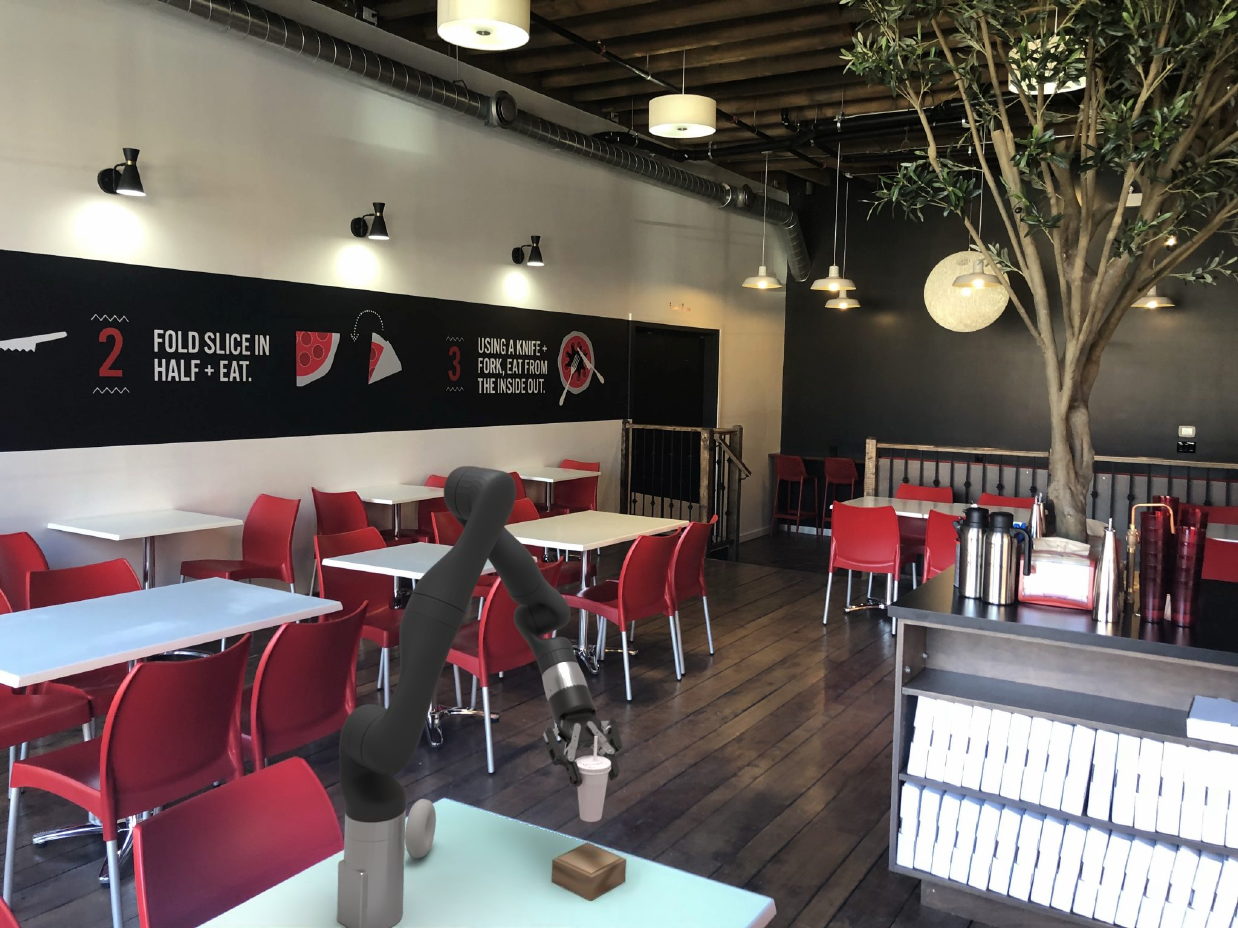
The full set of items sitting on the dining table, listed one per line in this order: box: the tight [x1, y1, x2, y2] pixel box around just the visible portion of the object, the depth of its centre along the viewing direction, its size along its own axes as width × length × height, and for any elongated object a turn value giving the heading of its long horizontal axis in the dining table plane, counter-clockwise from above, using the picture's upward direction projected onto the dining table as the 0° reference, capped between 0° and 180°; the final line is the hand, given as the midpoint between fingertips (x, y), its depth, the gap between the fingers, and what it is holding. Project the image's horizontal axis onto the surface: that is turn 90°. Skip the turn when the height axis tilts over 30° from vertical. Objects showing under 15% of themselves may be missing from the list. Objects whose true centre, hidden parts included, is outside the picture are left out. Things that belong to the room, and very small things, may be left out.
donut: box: [405, 798, 437, 859], centre depth 169 cm, size 10×4×10 cm, turn 174°
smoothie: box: [574, 736, 611, 823], centre depth 162 cm, size 6×6×14 cm
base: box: [550, 841, 627, 902], centre depth 162 cm, size 9×9×4 cm
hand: (596, 781), depth 160 cm, fingers closed on smoothie, 6 cm apart
